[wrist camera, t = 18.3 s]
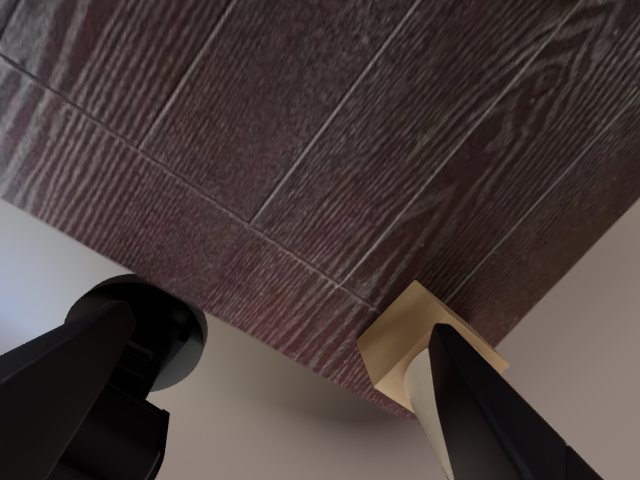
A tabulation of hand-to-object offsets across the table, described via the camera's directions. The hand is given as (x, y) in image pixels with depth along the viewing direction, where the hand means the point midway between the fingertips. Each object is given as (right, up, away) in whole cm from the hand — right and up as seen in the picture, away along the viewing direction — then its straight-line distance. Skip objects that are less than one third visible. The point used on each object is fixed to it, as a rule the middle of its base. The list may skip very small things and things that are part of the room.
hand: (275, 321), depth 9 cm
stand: (+9, -5, +17) cm, 20 cm away
